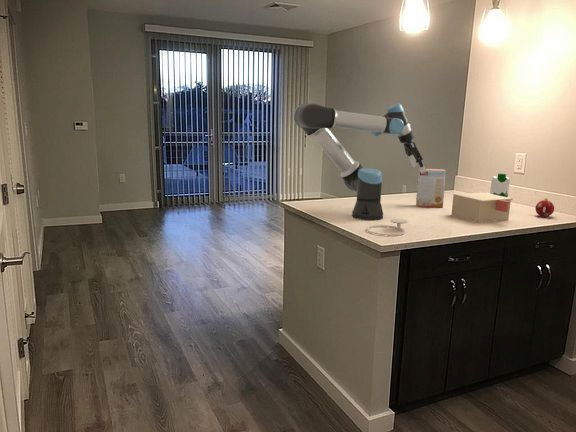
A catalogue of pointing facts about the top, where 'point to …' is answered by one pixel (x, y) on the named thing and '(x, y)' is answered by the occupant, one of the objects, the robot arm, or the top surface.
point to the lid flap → (488, 199)
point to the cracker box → (431, 188)
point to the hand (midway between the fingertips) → (419, 169)
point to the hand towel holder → (398, 221)
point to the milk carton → (500, 185)
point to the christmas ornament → (544, 208)
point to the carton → (477, 210)
